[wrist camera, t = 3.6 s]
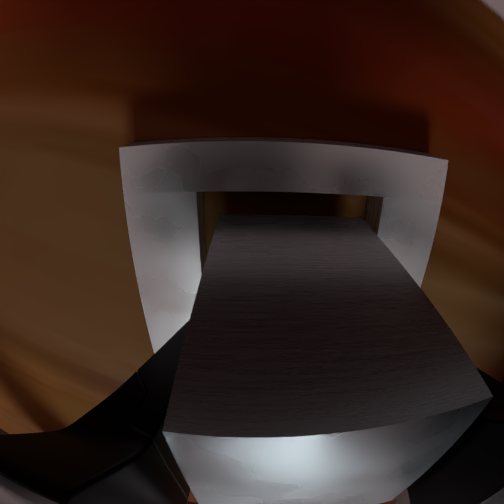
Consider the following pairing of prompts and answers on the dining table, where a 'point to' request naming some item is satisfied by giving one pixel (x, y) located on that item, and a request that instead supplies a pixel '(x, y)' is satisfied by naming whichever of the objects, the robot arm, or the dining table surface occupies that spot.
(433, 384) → the steel block
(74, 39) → the dining table surface
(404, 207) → the white flat frame
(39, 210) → the dining table surface
